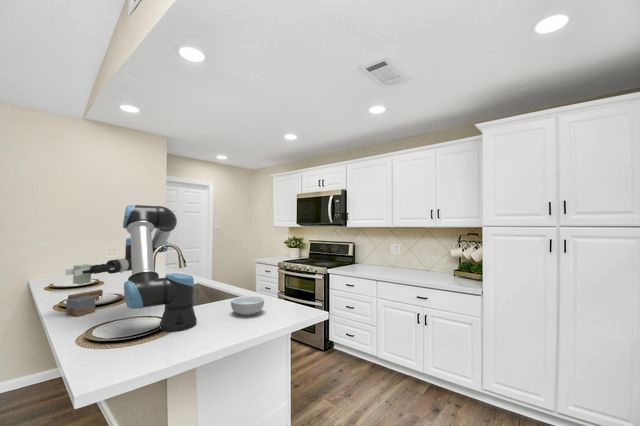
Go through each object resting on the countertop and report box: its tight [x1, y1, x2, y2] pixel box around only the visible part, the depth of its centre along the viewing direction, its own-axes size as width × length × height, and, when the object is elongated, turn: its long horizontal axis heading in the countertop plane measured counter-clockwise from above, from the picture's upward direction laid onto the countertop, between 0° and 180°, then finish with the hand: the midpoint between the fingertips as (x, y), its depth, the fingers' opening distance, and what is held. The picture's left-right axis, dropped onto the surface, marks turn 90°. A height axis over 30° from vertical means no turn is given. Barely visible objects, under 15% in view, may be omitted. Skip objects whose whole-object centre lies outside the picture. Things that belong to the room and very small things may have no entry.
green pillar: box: [72, 263, 92, 285], centre depth 145 cm, size 5×5×9 cm
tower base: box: [65, 304, 96, 318], centre depth 144 cm, size 8×8×4 cm
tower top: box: [65, 296, 96, 309], centre depth 145 cm, size 8×8×4 cm
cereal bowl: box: [230, 295, 265, 317], centre depth 149 cm, size 17×17×7 cm
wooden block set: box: [67, 289, 104, 300], centre depth 167 cm, size 17×6×18 cm
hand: (70, 272), depth 140 cm, fingers closed on green pillar, 5 cm apart
